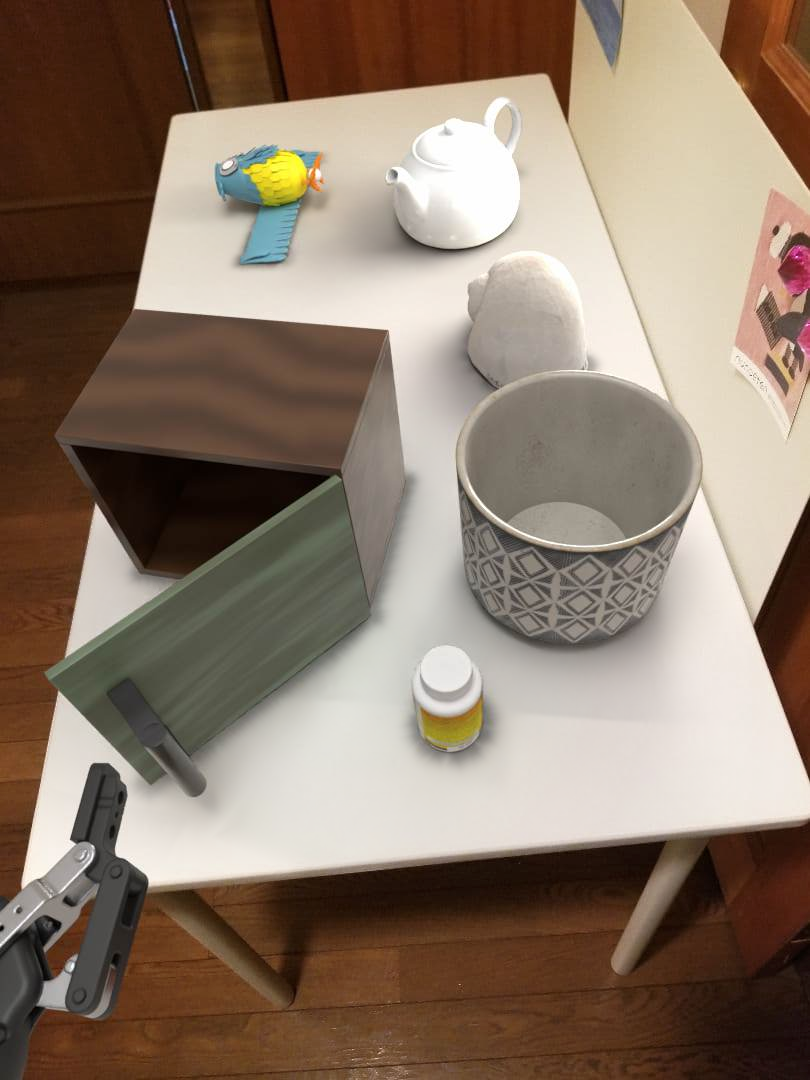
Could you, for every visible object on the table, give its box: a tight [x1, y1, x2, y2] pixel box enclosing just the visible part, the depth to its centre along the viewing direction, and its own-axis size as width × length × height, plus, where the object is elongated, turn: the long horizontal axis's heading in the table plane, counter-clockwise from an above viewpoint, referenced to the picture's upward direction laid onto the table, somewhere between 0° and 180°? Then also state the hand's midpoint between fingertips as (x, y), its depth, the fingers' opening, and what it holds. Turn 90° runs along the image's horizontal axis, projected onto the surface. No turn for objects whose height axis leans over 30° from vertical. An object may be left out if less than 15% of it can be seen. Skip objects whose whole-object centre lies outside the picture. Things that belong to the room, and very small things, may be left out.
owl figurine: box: [214, 144, 325, 265], centre depth 115 cm, size 28×9×15 cm
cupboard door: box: [44, 475, 371, 798], centre depth 62 cm, size 7×24×20 cm, turn 131°
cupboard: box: [54, 308, 407, 609], centre depth 75 cm, size 16×24×20 cm, turn 78°
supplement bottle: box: [411, 644, 484, 753], centre depth 65 cm, size 6×6×10 cm
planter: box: [455, 370, 704, 644], centre depth 71 cm, size 19×19×16 cm
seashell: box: [467, 250, 589, 389], centre depth 93 cm, size 15×14×15 cm
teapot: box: [384, 96, 523, 250], centre depth 108 cm, size 19×18×14 cm
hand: (23, 766), depth 40 cm, fingers open, 8 cm apart
